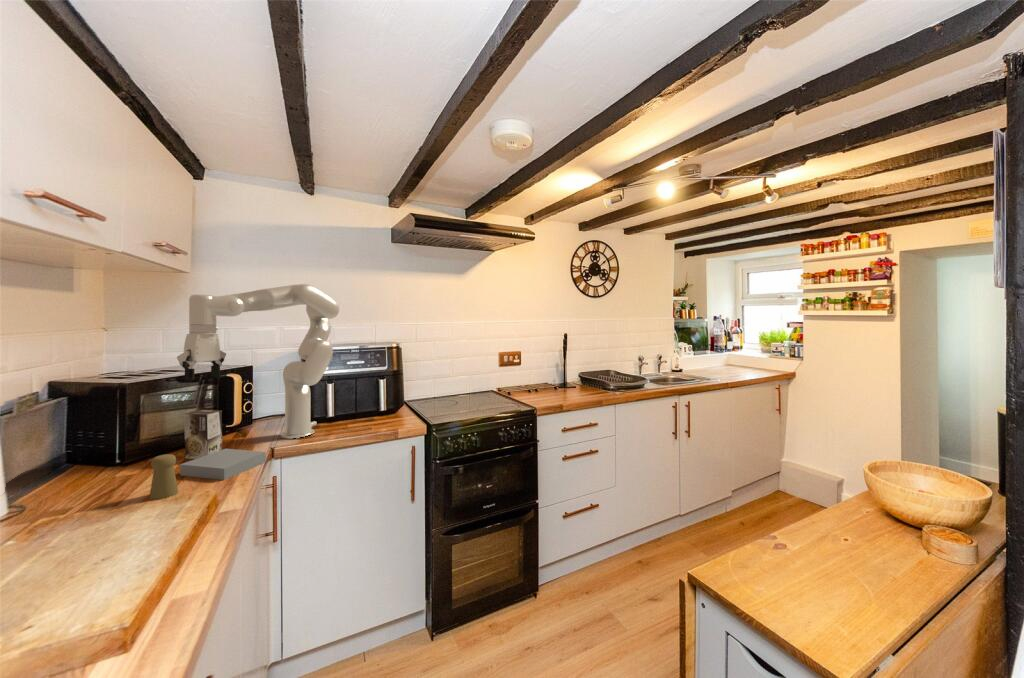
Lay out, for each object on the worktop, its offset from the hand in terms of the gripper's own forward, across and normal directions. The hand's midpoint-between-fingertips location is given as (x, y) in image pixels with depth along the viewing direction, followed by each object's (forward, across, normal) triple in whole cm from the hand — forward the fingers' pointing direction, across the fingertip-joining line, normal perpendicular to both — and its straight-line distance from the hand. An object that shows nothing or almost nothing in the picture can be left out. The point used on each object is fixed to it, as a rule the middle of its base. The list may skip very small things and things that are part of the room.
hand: (203, 378), depth 138 cm
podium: (+28, +8, +17) cm, 34 cm away
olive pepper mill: (+28, +28, +18) cm, 44 cm away
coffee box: (+28, 0, 0) cm, 28 cm away
